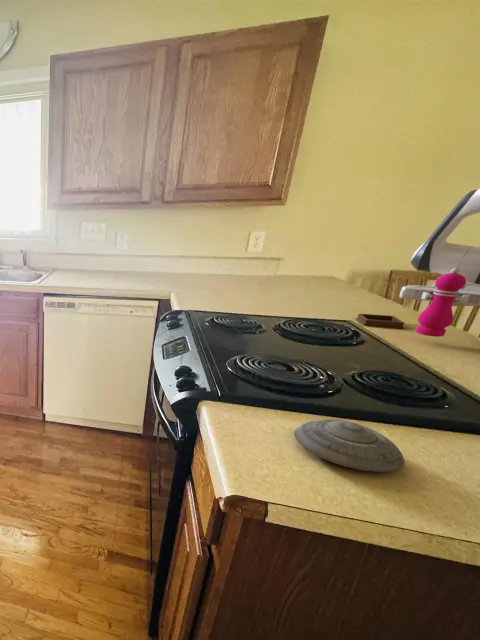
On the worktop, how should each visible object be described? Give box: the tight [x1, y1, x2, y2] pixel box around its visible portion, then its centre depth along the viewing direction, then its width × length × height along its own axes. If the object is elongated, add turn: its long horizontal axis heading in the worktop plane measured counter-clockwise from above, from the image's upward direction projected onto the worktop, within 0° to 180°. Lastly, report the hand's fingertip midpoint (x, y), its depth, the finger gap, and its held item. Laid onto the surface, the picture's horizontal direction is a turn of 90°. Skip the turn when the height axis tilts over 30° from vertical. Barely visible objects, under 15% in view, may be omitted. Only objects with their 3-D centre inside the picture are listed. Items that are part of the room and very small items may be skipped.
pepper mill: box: [415, 268, 466, 338], centre depth 118 cm, size 7×7×20 cm
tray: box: [356, 313, 405, 329], centre depth 142 cm, size 10×10×2 cm
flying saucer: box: [293, 418, 406, 473], centre depth 69 cm, size 15×15×6 cm
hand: (443, 299), depth 117 cm, fingers closed on pepper mill, 5 cm apart
